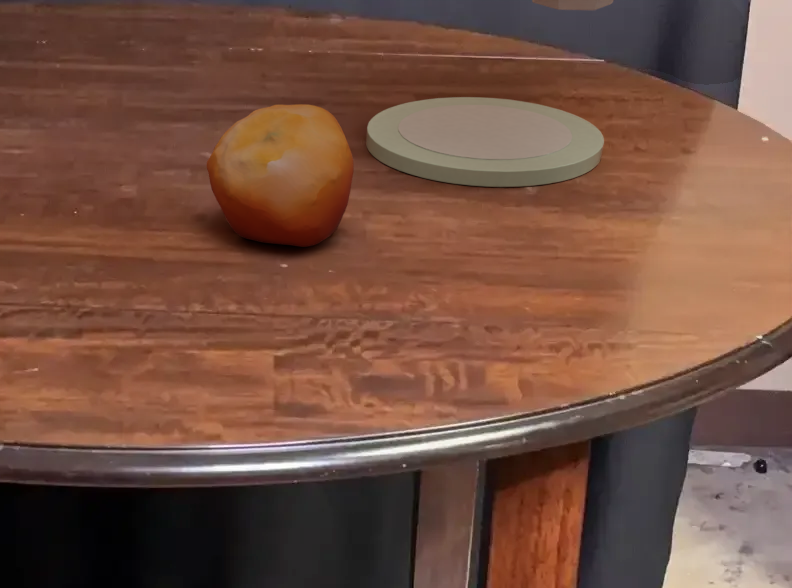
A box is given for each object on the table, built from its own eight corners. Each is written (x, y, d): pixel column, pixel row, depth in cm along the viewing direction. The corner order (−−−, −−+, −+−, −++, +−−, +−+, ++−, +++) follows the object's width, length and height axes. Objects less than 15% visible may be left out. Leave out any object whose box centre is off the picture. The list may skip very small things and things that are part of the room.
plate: (589, 116, 103) (592, 100, 102) (613, 192, 91) (616, 175, 90) (368, 107, 105) (369, 91, 104) (362, 181, 93) (364, 164, 92)
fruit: (389, 190, 87) (369, 88, 81) (333, 298, 85) (308, 201, 78) (265, 166, 91) (236, 66, 84) (208, 269, 89) (173, 174, 82)
